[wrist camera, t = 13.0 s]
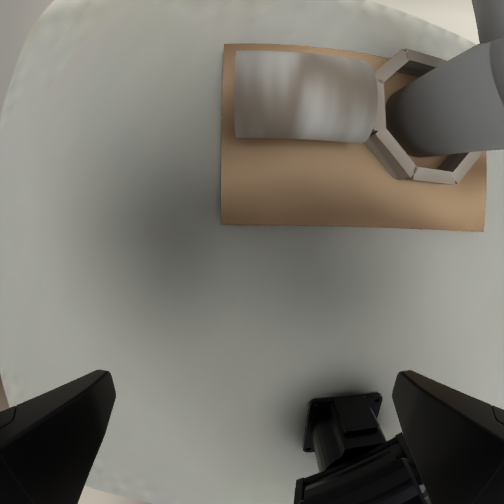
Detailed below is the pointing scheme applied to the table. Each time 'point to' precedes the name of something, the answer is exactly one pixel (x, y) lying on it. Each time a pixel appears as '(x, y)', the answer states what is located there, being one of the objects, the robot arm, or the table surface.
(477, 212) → the board
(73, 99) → the table surface
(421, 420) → the robot arm
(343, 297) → the table surface
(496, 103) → the elbow
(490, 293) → the table surface
